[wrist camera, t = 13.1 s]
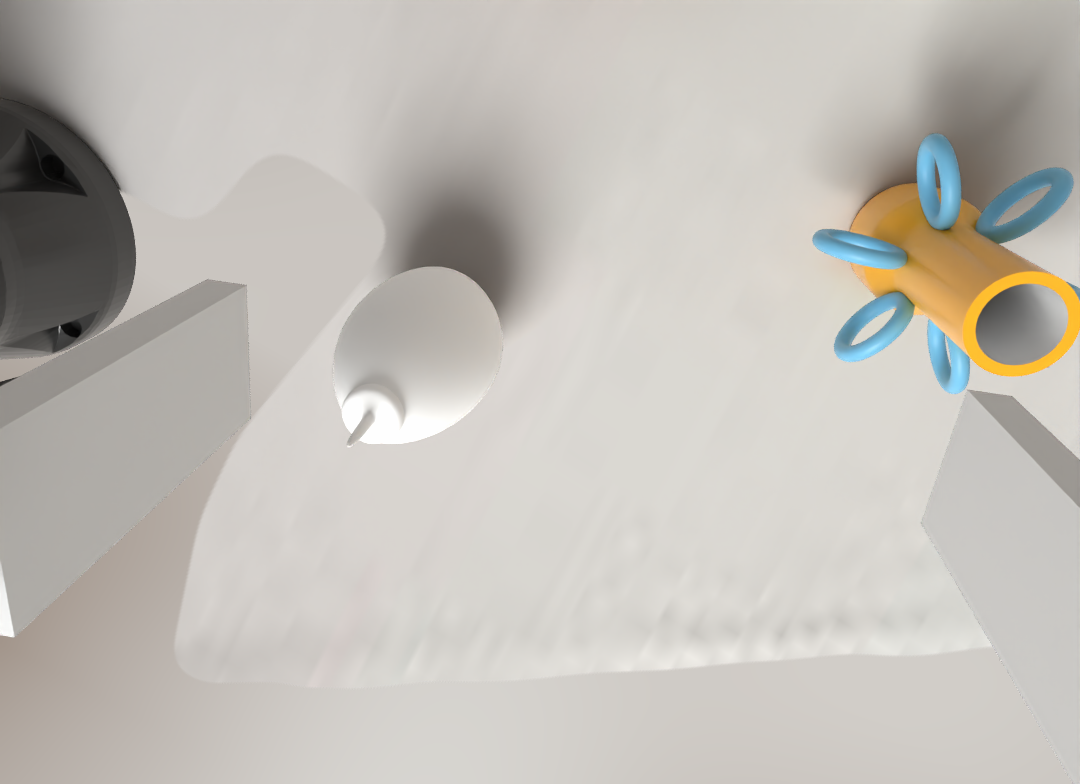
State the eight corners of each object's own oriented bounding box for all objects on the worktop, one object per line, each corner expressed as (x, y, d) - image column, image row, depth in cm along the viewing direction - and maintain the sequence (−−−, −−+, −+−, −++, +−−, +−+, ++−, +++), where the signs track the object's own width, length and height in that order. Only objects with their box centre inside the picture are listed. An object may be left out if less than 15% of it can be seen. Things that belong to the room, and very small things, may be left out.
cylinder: (939, 76, 40) (1089, 89, 27) (1067, 225, 42) (1269, 309, 28) (748, 250, 45) (792, 338, 31) (872, 377, 47) (965, 513, 33)
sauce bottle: (475, 222, 46) (376, 317, 29) (540, 341, 48) (482, 490, 32) (362, 283, 48) (212, 402, 32) (430, 393, 50) (322, 558, 34)
